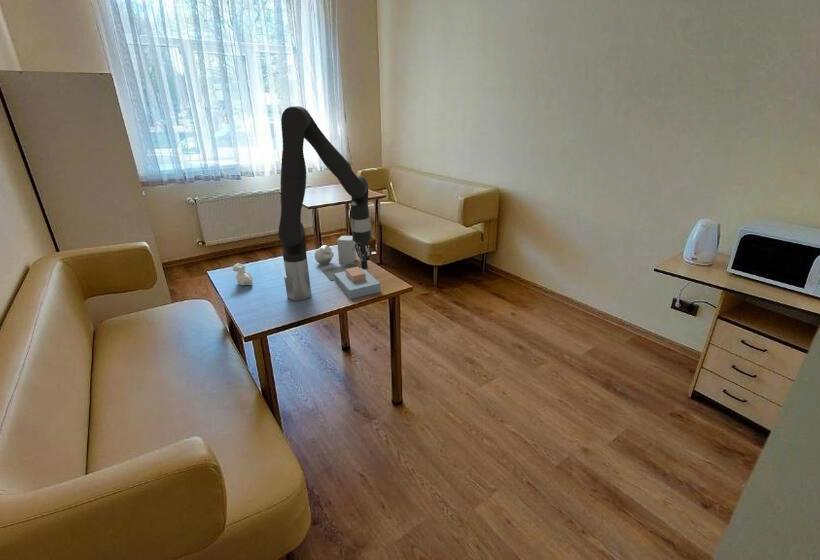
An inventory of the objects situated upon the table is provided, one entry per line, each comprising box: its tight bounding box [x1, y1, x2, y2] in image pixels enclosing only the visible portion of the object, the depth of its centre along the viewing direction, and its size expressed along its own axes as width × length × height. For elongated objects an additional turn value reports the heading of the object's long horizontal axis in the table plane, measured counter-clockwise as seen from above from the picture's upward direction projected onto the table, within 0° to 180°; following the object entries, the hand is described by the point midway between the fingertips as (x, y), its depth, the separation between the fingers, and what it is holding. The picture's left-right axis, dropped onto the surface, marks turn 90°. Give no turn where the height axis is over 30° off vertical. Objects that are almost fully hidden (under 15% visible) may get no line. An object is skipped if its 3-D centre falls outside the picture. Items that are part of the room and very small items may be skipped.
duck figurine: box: [232, 262, 253, 286], centre depth 186 cm, size 12×8×11 cm
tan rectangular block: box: [345, 266, 366, 283], centre depth 182 cm, size 9×6×3 cm, turn 28°
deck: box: [334, 267, 381, 300], centre depth 183 cm, size 20×14×4 cm
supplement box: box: [336, 235, 357, 265], centre depth 209 cm, size 7×7×13 cm
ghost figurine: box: [314, 244, 335, 266], centre depth 206 cm, size 9×9×10 cm
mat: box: [321, 262, 359, 282], centre depth 198 cm, size 14×17×1 cm
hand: (364, 268), depth 171 cm, fingers closed
